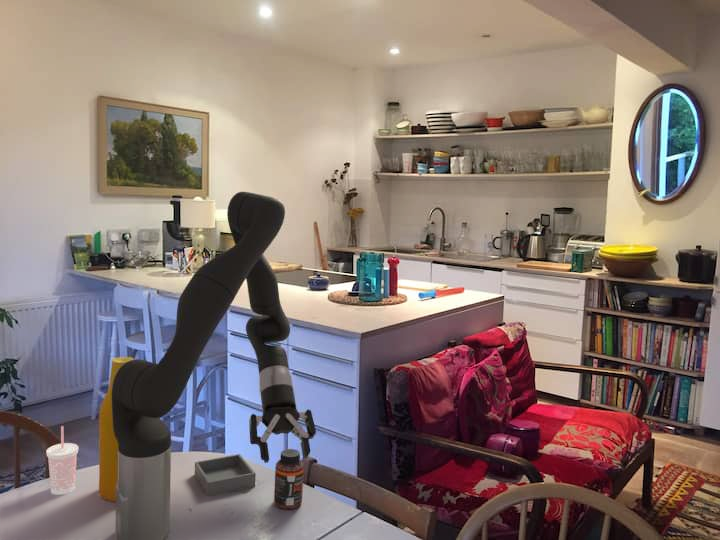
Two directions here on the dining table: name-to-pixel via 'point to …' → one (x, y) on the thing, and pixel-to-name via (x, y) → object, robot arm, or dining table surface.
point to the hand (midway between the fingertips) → (286, 459)
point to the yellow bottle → (109, 440)
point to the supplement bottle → (289, 480)
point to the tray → (224, 474)
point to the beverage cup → (62, 466)
